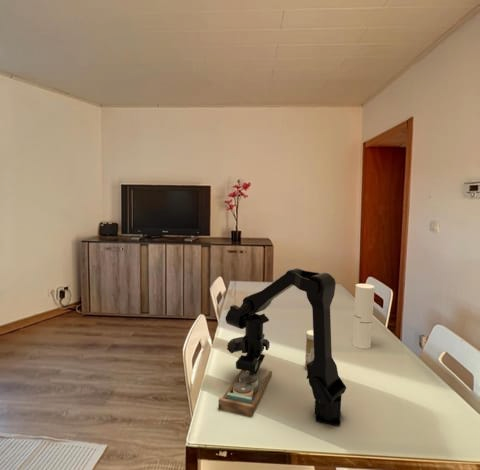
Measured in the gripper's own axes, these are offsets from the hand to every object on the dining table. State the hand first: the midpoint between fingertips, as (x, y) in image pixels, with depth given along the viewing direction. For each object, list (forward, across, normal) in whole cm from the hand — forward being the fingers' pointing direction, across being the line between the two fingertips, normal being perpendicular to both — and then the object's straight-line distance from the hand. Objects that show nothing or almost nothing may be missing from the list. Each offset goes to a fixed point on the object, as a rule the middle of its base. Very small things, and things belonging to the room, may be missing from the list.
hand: (253, 378), depth 116 cm
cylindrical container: (+2, -42, +34) cm, 54 cm away
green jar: (+1, +5, 0) cm, 5 cm away
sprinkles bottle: (+1, -15, +17) cm, 23 cm away
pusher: (+1, +14, 0) cm, 14 cm away
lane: (+1, +6, 0) cm, 7 cm away
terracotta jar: (+1, +11, 0) cm, 11 cm away
